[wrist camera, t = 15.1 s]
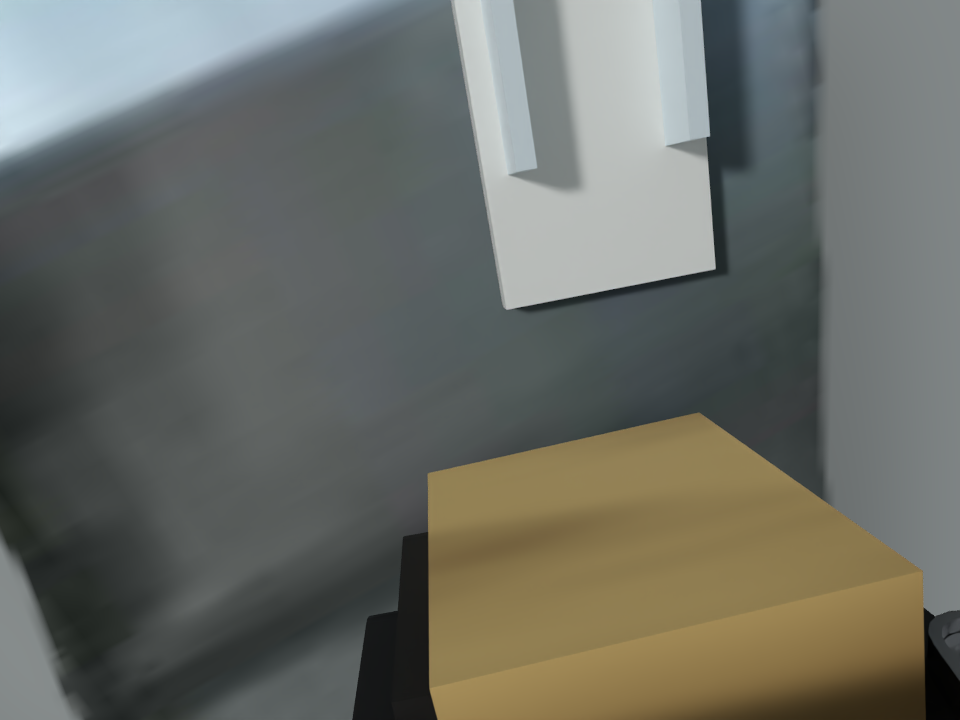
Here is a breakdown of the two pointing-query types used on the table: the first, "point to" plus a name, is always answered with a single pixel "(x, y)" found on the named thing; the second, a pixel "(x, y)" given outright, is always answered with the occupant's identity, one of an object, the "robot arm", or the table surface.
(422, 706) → the robot arm
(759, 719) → the block
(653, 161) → the channel
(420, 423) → the table surface
